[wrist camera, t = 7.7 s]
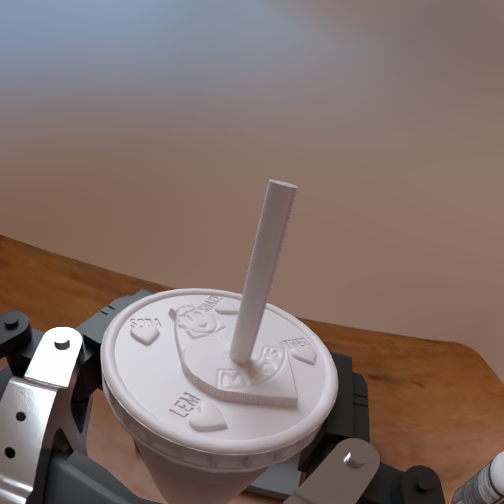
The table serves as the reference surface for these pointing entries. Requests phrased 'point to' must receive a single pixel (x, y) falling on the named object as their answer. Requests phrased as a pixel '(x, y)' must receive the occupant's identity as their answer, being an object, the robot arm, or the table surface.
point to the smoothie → (219, 376)
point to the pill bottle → (483, 485)
